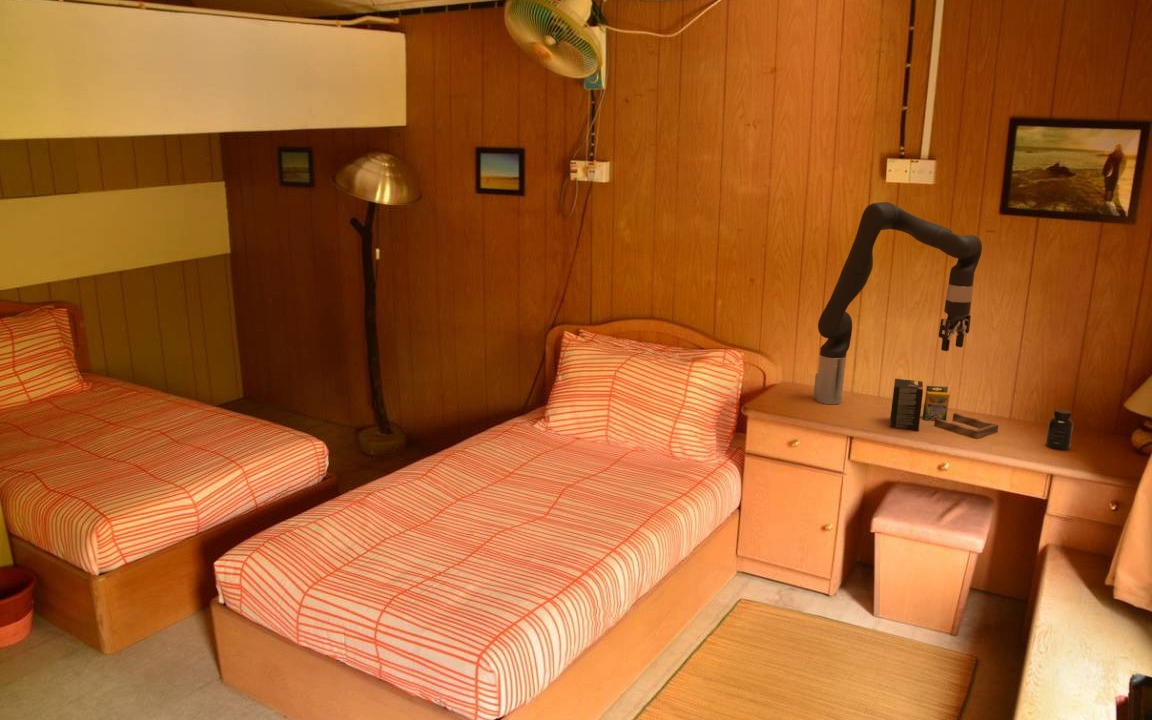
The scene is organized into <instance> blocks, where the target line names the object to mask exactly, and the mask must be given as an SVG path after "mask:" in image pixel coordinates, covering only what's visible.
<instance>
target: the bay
mask: <svg viewBox="0 0 1152 720" xmlns="http://www.w3.org/2000/svg"><path fill="white" fill-rule="evenodd" d="M952 421H955V422H957V423H960V424H957V423H954V422H950V421H948V420H946V421H945V420H941V419H938V418H937V419H935V420H934V423H933V425H934V427H937V428H940V429H943V430H946V431H950V432H953V433H956V434H959V435H963V436H965V435H966V437H969V438H972V439H975V438H976V440H979V439H982V438H984V437H988V436H990V435H993V434H996V433H998V431H999V424H997V423H992V422H990V421H986V420H982V419H980V418H979V419H978V418H975V417H972V416H969V415H965V414H961V413H958V412H955V413H953V415H952ZM961 424H965V425H968V426H965V425H961ZM969 426H972V427H974V428H977V427H978V428H977V429H974V428H971V427H969ZM981 437H982V438H981ZM978 438H979V439H978Z"/></svg>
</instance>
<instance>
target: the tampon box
mask: <svg viewBox="0 0 1152 720" xmlns="http://www.w3.org/2000/svg"><path fill="white" fill-rule="evenodd" d="M923 394H924V381H921V380H919V381H918V380H911V379H902V378H901V379H900V378H895V379H894V385H893V393H892V400H891V401H892V402H891V409H890V416H889V427H890V428H891V429H892V428H893V429H900V430H901V429H902V430H908V431H916V432H919V431H920V430H919V429H920V421H921V412H922V404H923V403H922V402H923Z"/></svg>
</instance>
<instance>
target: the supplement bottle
mask: <svg viewBox="0 0 1152 720" xmlns="http://www.w3.org/2000/svg"><path fill="white" fill-rule="evenodd" d="M1053 411H1054V412H1053V417H1051V418H1050V419H1049V421H1048V428H1047V434H1046V440H1045V441H1046V442H1045V445H1046V447H1048V448H1049V449H1050V448H1051V449H1053V450H1056V449H1057V451H1067V450H1069V449H1070V447H1071V443H1072V436H1073V429H1074V422H1073V420H1072V411H1071V410H1068V409H1064V408H1063V409H1062V408H1057V409H1054V410H1053Z"/></svg>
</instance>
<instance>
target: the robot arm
mask: <svg viewBox="0 0 1152 720" xmlns="http://www.w3.org/2000/svg"><path fill="white" fill-rule="evenodd" d="M886 230H893V231H894V230H895V231H899V232H903V233H905V234H908V235H909V236H911V237H912V238H914V239H915V240H916V241H918V242H920V243H922V244H924V245H927V246H929V247H932V248H935V249H938V250H940V251H941V252H942V253H944V254H946V255H948V256H949V257H952V258H954V259H957V261H956V264H955V265H953V266H952V267H951V268H950V271H949V276H948V277H949V279H948V285H947V289H946V293H945V295H946V296H945V301H944V310H943V311H944V313H945V314H947V317H946V318H940V319H941V320H940V322H939V323H940V324H939V329H938V331H939V332H938V338H941V351H942V352H943V351H944V352H949V351H950V344H951V338H952V336H953V335H954V334H955V333H956V338H955V344H954V345H955V347H957V348H963V347H964V340H965V336H966V335H967V334H969V333H970V326H971V318H972V316H971V314H970V313H971V306H972V299H973V287H974V279H975V278H974V277H975V271H976V268H977V266H978V265H979V261H980V259H981V256H982V251H983V244H982V241H981V239H980V237H978V236H977V235H974V234H967V235H960V234H955V233H954V232H953V231H952V230H951V229H949V228H947V227H946V226H943V225H940V224H937V223H933V222H931V221H928V220H925V219H923V218H920V217H918V216H916V215H913V214H911V213H910V212H907V211H906V210H904V209H902V208H901V207H899V206H897V205H895V204H893V203H891V202H888V201H883V202H873V203H870V204H868V205H867V206H866V207H865V209H864V211H863V212H862V215H861V218H860V221H859V224H858V228H857V231H856V235H855V238H854V240H853V243H852V245H851V248H850V250H849V253H848V255H847V258H846V260H845V262H844V265H843V267H842V269H841V272H840V275H839V277H838V279H837V281H836V284H835V286H834V289H833V291H832V294H831V296H830V298H829V300H828V301H827V304H826V306H825V308H824V309H823V311H822V312H821V315H820V317H819V319H818V321H817V329H818V330H817V331H818V333H819V334H820V336H822V337H823V338H825V339H827V340H826V341H825V342H824V343H823V344H822V345H821V346H820V349H819V359H818V369H817V373H815V376H814V384H813V385H814V386H813V387H814V388H813V397H812V398H813V400H815V401H817V402H818V403H821V404H827V405H839V404H841V403H842V401H843V392H844V382H845V381H844V380H845V371H846V360H847V353H848V350H849V349H850V345H851V340H852V333H853V331H852V330H853V320H852V317H851V315H850V314H849V313H848V312H847V308H848V307H849V305H850V304H851V303H852V302H853V301H854V300H855V299H856V297H857V296H858V295H859V294H860V293H861V292H862V291H863V289H864V288H865V286H866V284H867V282H868V280H869V278H870V275H871V272H872V270H873V266H874V256H873V250H874V246H875V243H876V241H877V239H878V236H879V234H880V233H881V231H886Z"/></svg>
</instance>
